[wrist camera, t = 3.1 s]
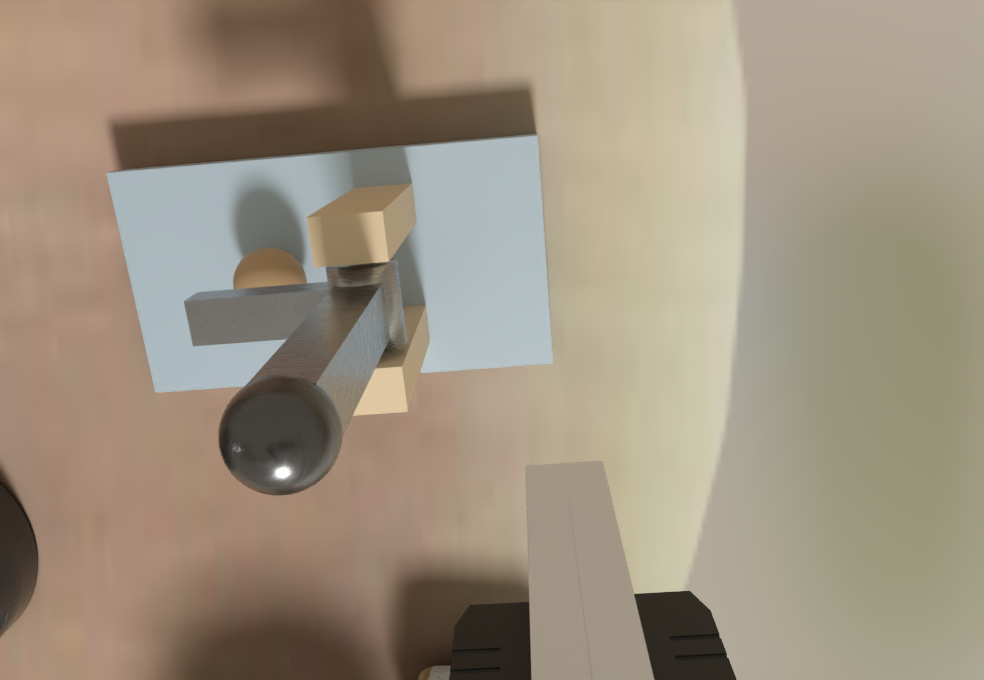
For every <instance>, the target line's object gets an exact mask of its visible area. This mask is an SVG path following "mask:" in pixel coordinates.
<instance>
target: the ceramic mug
mask: <svg viewBox="0 0 984 680" xmlns="http://www.w3.org/2000/svg"><path fill="white" fill-rule="evenodd" d="M449 675H450V666H448V665H446V666H431V667H427V668H426V669H424V670H423V671H422V672H421V673H420V675H419V678H418V680H449Z"/></svg>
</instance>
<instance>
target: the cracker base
mask: <svg viewBox="0 0 984 680" xmlns="http://www.w3.org/2000/svg"><path fill="white" fill-rule="evenodd" d="M106 174H107V178H108V183H109V187H110V192H111V196H112V201H113V205H114V210H115V214H116V219H117V223H118V227H119V232H120V236H121V241H122V245H123V250H124V254H125V259H126V263H127V268H128V272H129V277H130V281H131V286H132V290H133V295H134V299H135V304H136V308H137V312H138V317H139V321H140V326H141V330H142V335H143V339H144V344H145V348H146V353H147V357H148V362H149V366H150V371H151V375H152V380H153V384H154V389H155V393H159V392H173V391H186V390H200V389H213V388H227V387H240V386H246V385H247V383H248V382H249V381H250V380H251V379H252V378H253V377H254V376H255V374H256V373H257V372H258V371H259V370H260V369H261V368H262V367H263V366H264V364H265V363H266V362H267V361H268V360H269V359H270V358H271V357H272V355H273V354H274V353H275V352H276V351H277V350H278V349H279V348H280V347H281V345H282V344H283V343H284V342H285V341H286V340H287V339H284V340H271V341H258V342H245V343H232V344H219V345H206V346H193V344H192V339H191V334H190V329H189V324H188V320H187V315H186V310H185V305H184V301H185V300H186V299H188V298H189V297H191V296H192V295H194V294H196V293H197V292H204V291H217V290H230V289H242V288H255V287H267V286H280V285H292V284H305V283H317V282H328V281H327V275H326V267H330V266H342V265H355V264H367V263H380V262H389V261H390V259H391V258H395V259H397V263H398V271H399V280H400V288H401V296H402V304H403V312H404V321H405V329H406V337H407V343H406V345H405V346H403V347H402V348H400V349H398V350H395V351H392V352H389V353H385V354H382V356H381V358H380V360H379V362H378V364H377V366H376V368H375V370H374V372H373V374H372V377H371V379H370V381H369V383H368V385H367V387H366V389H365V391H364V393H363V395H362V397H361V399H360V401H359V404H358V406H357V408H356V410H355V412H354V414H353V416H354V415H368V414H382V413H396V412H408V409H409V406H410V403H411V399H412V396H413V393H414V390H415V387H416V384H417V381H418V377H419V374H420V373H429V372H443V371H456V370H470V369H483V368H497V367H510V366H524V365H537V364H551V363H553V357H552V342H551V327H550V312H549V297H548V282H547V267H546V252H545V237H544V222H543V206H542V191H541V176H540V161H539V146H538V135H537V134H525V135H514V136H502V137H491V138H479V139H468V140H456V141H445V142H433V143H422V144H410V145H399V146H387V147H376V148H364V149H353V150H341V151H330V152H318V153H307V154H295V155H284V156H272V157H261V158H249V159H238V160H226V161H215V162H203V163H191V164H180V165H168V166H157V167H145V168H134V169H124V170H119V171H114V172H109V173H106Z"/></svg>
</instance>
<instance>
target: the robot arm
mask: <svg viewBox="0 0 984 680" xmlns="http://www.w3.org/2000/svg"><path fill="white" fill-rule="evenodd" d="M525 468H526V503H527V538H528V573H529V602H520V603H502V604H484V605H470V606H469V607H468V609H467V610H466V612H465V613H464V614H463V616H462V617H461V619H460V620H459V621H458V623H457V624H456V626H455V630H454V639H453V648H452V657H451V666H450V675H449V680H736V677H735V675H734V672H733V669H732V667H731V664H730V661H729V659H728V658H727V654H726V651H725V648H724V645H723V643H722V640H721V638H720V637H719V632H718V630H717V627H716V624H715V621H714V619H713V617H712V613H711V611H710V610H709V609H708V608H707V607H706V606H705V605H704V604H703V603H702V602H701V601H699V599H698V598H697V597H696V596H694V595H693V594H692V593H691V592H690V591H680V592H662V593H644V594H634V592H633V588H632V583H631V579H630V575H629V571H628V567H627V562H626V558H625V554H624V550H623V545H622V541H621V537H620V533H619V529H618V524H617V520H616V516H615V512H614V507H613V503H612V499H611V495H610V491H609V486H608V482H607V478H606V474H605V470H604V465H603V461H592V462H576V463H560V464H545V465H529V466H525ZM37 573H38V558H37V550H36V545H35V541H34V537H33V534H32V531H31V529H30V526H29V524H28V522H27V520H26V518H25V516H24V514H23V512H22V510H21V509H20V507H19V506H18V504H17V503H16V501H15V500H14V498H13V497H12V496H11V495H10V493H9V492H8V491H7V490H6V489H5V488H4V486H3V485H2V484H1V483H0V637H1V636H2V635H3V634H4V633H5V632H6V631H7V630H8V629H9V628H10V627H11V626H12V625H13V623H14V622H15V621H16V620H17V619H18V618H19V617H20V616H21V614H22V613H23V612H24V610H25V609H26V607H27V606H28V604H29V602H30V600H31V597H32V595H33V592H34V589H35V586H36V581H37Z"/></svg>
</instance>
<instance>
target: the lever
mask: <svg viewBox="0 0 984 680" xmlns="http://www.w3.org/2000/svg"><path fill="white" fill-rule="evenodd" d="M326 275H327V281H328V282H317V283H305V284H292V285H280V286H267V287H255V288H242V289H230V290H217V291H204V292H197V293H196V294H194V295H192V296H191V297H189V298H188V299H186V300H185V301H184V305H185V310H186V315H187V320H188V324H189V329H190V334H191V339H192V344H193V346H206V345H219V344H232V343H245V342H258V341H271V340H284V339H287V340H286V341H285V342H284V343H283V344H282V345H281V347H280V348H279V349H278V350H277V351H276V352H275V353H274V354H273V355H272V357H271V358H270V359H269V360H268V361H267V362H266V363H265V364H264V366H263V367H262V368H261V369H260V370H259V371H258V372H257V373H256V374H255V376H254V377H253V378H252V379H251V380H250V381H249V382H248V383H247V385H246V386H245V387H244V388H242V389H241V390H240V391H239V392H238V393H237V394H236V395H235V396H234V397H233V398H232V399H231V401H230V402H229V404H228V405H227V407H226V409H225V411H224V413H223V415H222V418H221V422H220V426H219V448H220V452H221V455H222V458H223V460H224V463H225V465H226V466H227V468H228V470H229V471H230V472H231V474H232V475H233V476H234V477H235V478H236V479H237V480H238V481H240V482H241V483H242V484H243V485H245V486H247V487H248V488H250V489H252V490H254V491H257V492H260V493H263V494H268V495H289V494H294V493H298V492H301V491H303V490H306V489H308V488H309V487H311V486H313V485H315V484H316V483H317V482H319V481H320V480H321V479H322V478H323V477H324V476H325V475H326V474H327V473H328V472H329V471H330V469H331V468H332V466H333V465H334V463H335V461H336V459H337V457H338V455H339V452H340V449H341V444H342V437H343V435H344V433H345V430H346V428H347V426H348V424H349V422H350V420H351V418H352V416H353V414H354V412H355V410H356V408H357V406H358V404H359V401H360V399H361V397H362V395H363V393H364V391H365V389H366V387H367V385H368V383H369V381H370V379H371V377H372V374H373V372H374V370H375V368H376V366H377V364H378V362H379V360H380V358H381V356H382V354H385V353H389V352H392V351H395V350H398V349H400V348H402V347H403V346H405V345H406V343H407V337H406V329H405V321H404V312H403V304H402V296H401V288H400V280H399V271H398V263H397V259H395V258H391V259H390V261H389V262H380V263H367V264H355V265H342V266H330V267H326Z"/></svg>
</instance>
